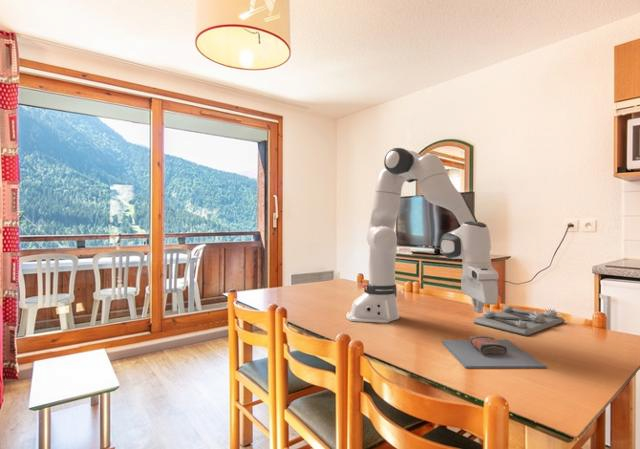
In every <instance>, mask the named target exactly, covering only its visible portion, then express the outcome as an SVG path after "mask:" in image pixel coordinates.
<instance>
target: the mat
mask: <svg viewBox="0 0 640 449" xmlns="http://www.w3.org/2000/svg"><path fill="white" fill-rule="evenodd" d="M495 340H496V341H497V342H499V343H500V344H501V345H504V346H505V347H506V348H507V353H506V354H505V355H487V354H483V353H481V352H480V351H479V349H478V348H476V347H475V346H473V345H472V344H471V343H470V339H440V343H441V344H442V345H443V346H444V347H445V348H446V349H447V350H448V351H449V352H450V354H452V355H453V357H454V358H455V359H456V360H457V361H458V362H459V363H460V364H461V366H463V368H464V369H547V365H546V364H544V363H543V362H541V361H540V360H538V359H537V358H535V357H534V356H532V355H531V354H530V353H528V352H526V351H525V350H523V349H521V348H520V347H519V346H517V345H516V344H514V343H513V342H511V341H510V340H509V339H495Z"/></svg>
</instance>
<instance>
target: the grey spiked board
mask: <svg viewBox="0 0 640 449" xmlns="http://www.w3.org/2000/svg"><path fill="white" fill-rule="evenodd" d="M501 308H502V310H501V311H497V312H496V311H495V312H494V310H493V309H489V308H488V309H487V310H486V309H484V310H483V313H482V316H480V317H476V318H474V319H473V320H472V322H473V323H474V324H475V325H480V326H482V327H488V328H492V329H496V330H499V331H503V332H508V333H512V334H516V335H518V336H519V335H520V336H525V337H528V336H531V335H533V334H536V333H538V332H541V331H544V330H546V329H549V328H551V327H554V326H557V325H560V324H563V323H564V322H565V321H566V320H565V318H564V317H562V316H560V315H559V311H556V310H555V309H554V308H553V309H551V307H550V308H547V309H546V308H544V309H545V310H543V312H542V311H538V310H535V309H534V310H533V311H530V310H525V309H520V308H516V307H515V308H514V307H513V306H511V304H504V305H503V306H502V307H501Z"/></svg>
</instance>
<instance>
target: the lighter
mask: <svg viewBox="0 0 640 449" xmlns="http://www.w3.org/2000/svg"><path fill="white" fill-rule="evenodd" d="M469 340H470V343H471V344H472V345H473V346H475V347H476V348H478V349H479V351H480V352H481V353H483V354H487V355H505V354H506V353H507V348H506V347H505V346H504V345H501V344H500V343H499V342H497V341H496V340H497V339H496V338H494V337H492V336H491V337H490V336H484V335H478V336H469Z"/></svg>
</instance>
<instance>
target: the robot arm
mask: <svg viewBox="0 0 640 449" xmlns="http://www.w3.org/2000/svg"><path fill="white" fill-rule="evenodd" d="M383 163H384V164H383V166H384V168H383V169H381V171H380V172H379V175H378V178H377V181H376V185H375V191H374V196H373V204H372V210H371V215H370V218H369V220H370V221H369V224H368V230H367V235H366V240H367V243H368V246H369V260H368V283H363V284H362V288H363V290H364V293H362V294H360V296H358V297H356V299H354V300H353V302H352V304H351V308H350V309H351V310H350V311H347V312H346V318H347V320H349V321H350V322H359V323H360V322H361V323H381V324H382V323H383V324H388V323H390V322H392V321H395V320H399V319H400V314H399V310H398V309H399V308H398V306H397V303H398V302H397V294H398V293H397V292H398V289H397V288H398V287H397V284H396V259H397V247H398V246H397V244H398V237H397V233H396V231H395V227H396V226H395V225H396V222H397V218H398V215H399V212H400V206H401V205H400V204H401V197H402V189H403V185H404V184H405V182H407V183H409V184H410V183H413V182H416V181H417V182H418V185H419V190H420V191H421V194H422V196H423V197H424V199H425V200H426V201H427V202H428V203H429V204H432V205H435V206H438V207H441V208H444V209H446V210H448V211H449V212H451V213H452V214H453V215H454V216H455V218H456V219H457V222H458V224H459V225H460V226H459V227H458V228H456V229H453V230H452V231H448V232H445V233H444V234H442V236H441V238H440V240H439V250H440V252H441V254H442V255H443V256H444V257H445V258H447V259H452V260H455V259H457V260H458V259H461V260H462V261H461V264H462V266H461V267H462V273H461V278H460V288H461V293H462V294H464V295H466V296H468V297H470V298H471V302H472V305H473V311H474V312H476V313H477V314H483V313H484V306H485V305H487V306H490V305H496V304H497V303H498V300H499V298H498V297H499V286H498V281H497V280H499V276H500V275H499V272H498V271H497V270H496V269H495V268H494V267H493V265H492V259H491V255H490V254H491V253H490V252H491V246H492V245H491V235H490V230H489V227H488V225H487V224H486V223H484V222H480V221H478V220H477V218H476V216H475V214H474V212H473V210H472V208H471V207H470V204H468V201H467V200H466V198H465V197H464V195H463V194H462V193H460V191H458V190H457V188H456V187H455V185H454V184H453V183H452V181H451V179H450V175H449V174H448V172H447V169H446V167H445V166H444V163H443V162H442V160H441V158H440V157H439V156H438V155H437V154H434V153H427V154H424V155H422V154H420V153H419V152H416V151H413V150H409V149H406V148H401V147H393V148H392V149H389V151H388V152H386V154H385V156H384V160H383Z"/></svg>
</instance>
